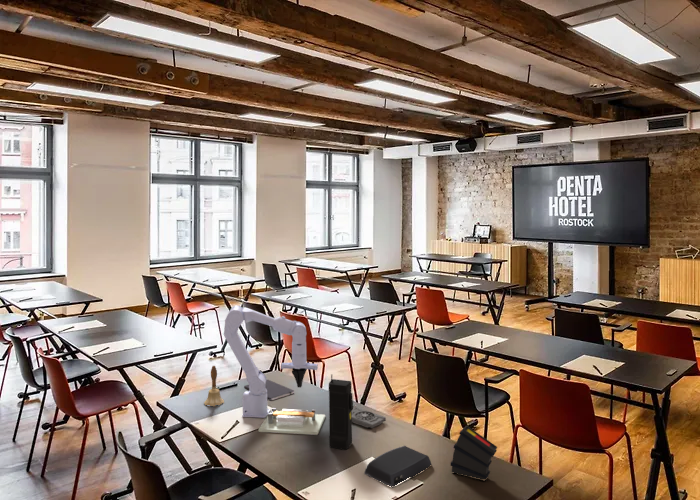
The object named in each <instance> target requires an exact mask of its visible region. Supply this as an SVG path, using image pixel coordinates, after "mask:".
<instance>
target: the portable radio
mask: <svg viewBox="0 0 700 500" xmlns="http://www.w3.org/2000/svg"><path fill="white" fill-rule="evenodd" d="M330 376H331V377H330V378H331V379H330V381H329V382H328V395H329V396H328V401H329V402H328V404H329V405H328V407H329V411H328V412H329V413H328V415H329V416H328V417H329V420H328V421H329V436H328V438H329V439H328V440H329V441H328V442H329V444H328V445H329V448H333V449H338V450H347V449H349V448H350V446H351V445H352V444H353V432H352V431H353V425H352V423H353V422H352V410H354V408H353V406H354V402H353V399H354V398H353V392H352V381H351V380H345V379H344V380H343V379H335V378H333V374H330Z"/></svg>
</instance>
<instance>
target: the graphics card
mask: <svg viewBox="0 0 700 500" xmlns="http://www.w3.org/2000/svg"><path fill="white" fill-rule="evenodd" d="M383 422H387V421H386V416H384V415H380V414H378V413H375V412H372V411H369V410H367V409H363V408H361V407H357V404H353V410H352V423H354V424H356V425H360V426H362V427H365V428H371V429H372V428H373V429H374V428H375V427H377V426H380V425H381V424H383Z"/></svg>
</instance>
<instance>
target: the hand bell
mask: <svg viewBox="0 0 700 500" xmlns="http://www.w3.org/2000/svg"><path fill="white" fill-rule="evenodd" d="M210 378H211V389H208V392H207V393H208V395H207V397H206V400H205V401H204V402H203V405H204V404H205V405H204V406H206V405H210V406H213V407H216V406H215V405H220V404H222V403H223V404H225V400H224V399H223V398H222V396H221V393H220V389H219V388H217V378H218V370H217V368H216V365H212V367H211V369H210ZM223 404H222V405H223ZM210 406H209V407H210ZM220 406H221V405H220Z"/></svg>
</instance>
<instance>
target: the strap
mask: <svg viewBox="0 0 700 500" xmlns="http://www.w3.org/2000/svg"><path fill="white" fill-rule="evenodd" d="M270 412H271V413H273V416H278V415H282V416H303V417H313V416H314V412H312V411H308V412H291V411H282V410H276V411H274V410H272V409H271V411H270Z"/></svg>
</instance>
